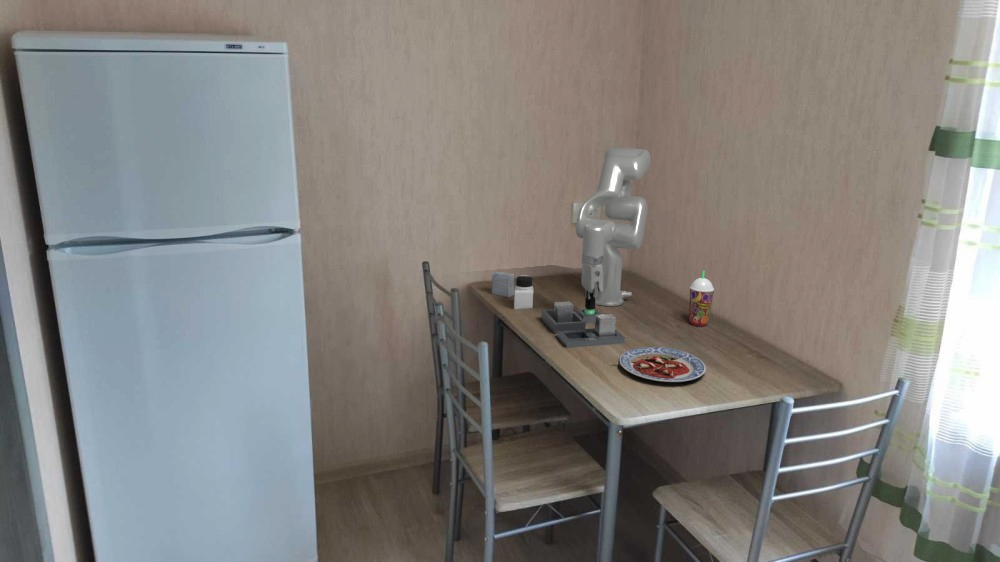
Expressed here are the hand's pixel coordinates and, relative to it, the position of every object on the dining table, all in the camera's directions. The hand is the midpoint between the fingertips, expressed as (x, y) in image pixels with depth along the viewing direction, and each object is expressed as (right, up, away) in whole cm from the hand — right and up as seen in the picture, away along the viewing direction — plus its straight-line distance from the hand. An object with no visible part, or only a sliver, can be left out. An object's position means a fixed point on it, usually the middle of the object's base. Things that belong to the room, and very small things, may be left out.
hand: (590, 308), depth 257 cm
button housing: (0, -5, +1) cm, 5 cm away
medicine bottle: (-23, 0, +16) cm, 28 cm away
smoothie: (+39, -6, +2) cm, 40 cm away
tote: (-10, -7, -5) cm, 13 cm away
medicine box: (-31, +4, +30) cm, 43 cm away
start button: (0, -4, +1) cm, 4 cm away
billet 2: (+3, -10, -17) cm, 20 cm away
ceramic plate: (+17, -18, -37) cm, 44 cm away
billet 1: (-10, -6, -5) cm, 13 cm away
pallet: (-2, -11, -18) cm, 21 cm away
